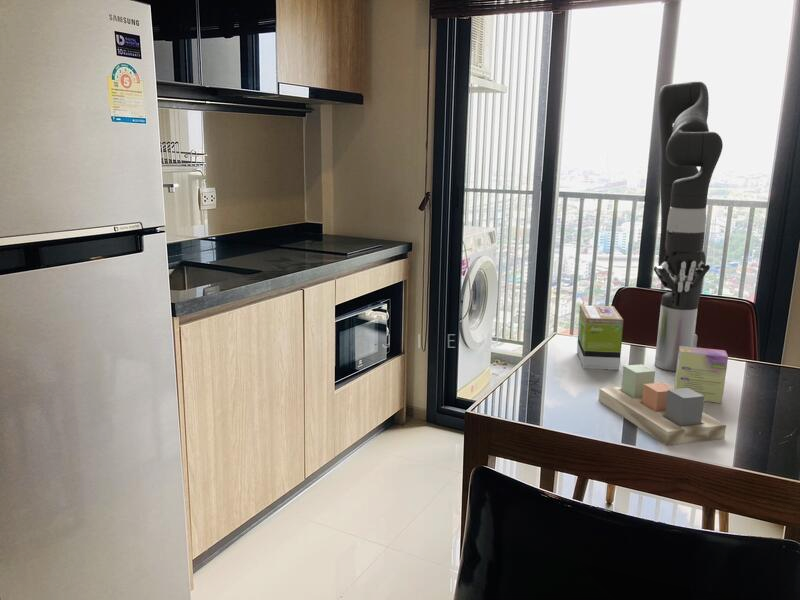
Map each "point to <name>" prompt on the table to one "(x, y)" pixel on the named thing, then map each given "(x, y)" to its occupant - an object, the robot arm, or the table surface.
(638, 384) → the button sage
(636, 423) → the light wooden board
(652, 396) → the button terracotta
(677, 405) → the grey block
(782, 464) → the table surface
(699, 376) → the box
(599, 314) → the tea box
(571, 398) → the table surface
